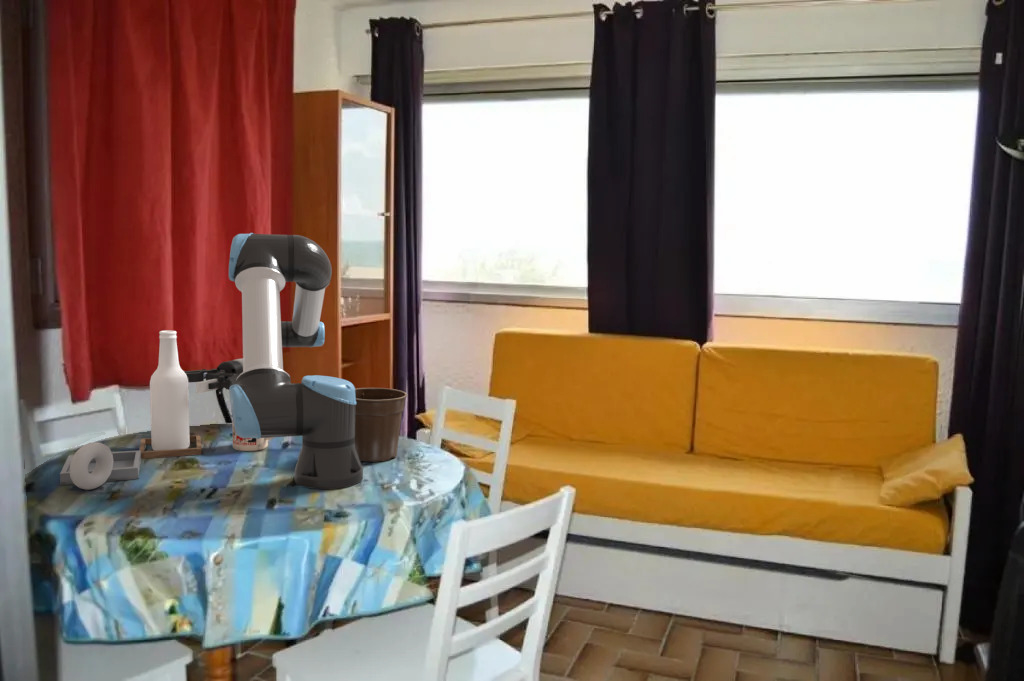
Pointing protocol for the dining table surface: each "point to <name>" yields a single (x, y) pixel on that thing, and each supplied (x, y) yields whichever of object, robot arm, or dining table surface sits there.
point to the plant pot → (378, 422)
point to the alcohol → (169, 398)
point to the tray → (123, 467)
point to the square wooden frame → (170, 452)
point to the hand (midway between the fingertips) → (176, 385)
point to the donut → (82, 461)
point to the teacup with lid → (248, 442)
